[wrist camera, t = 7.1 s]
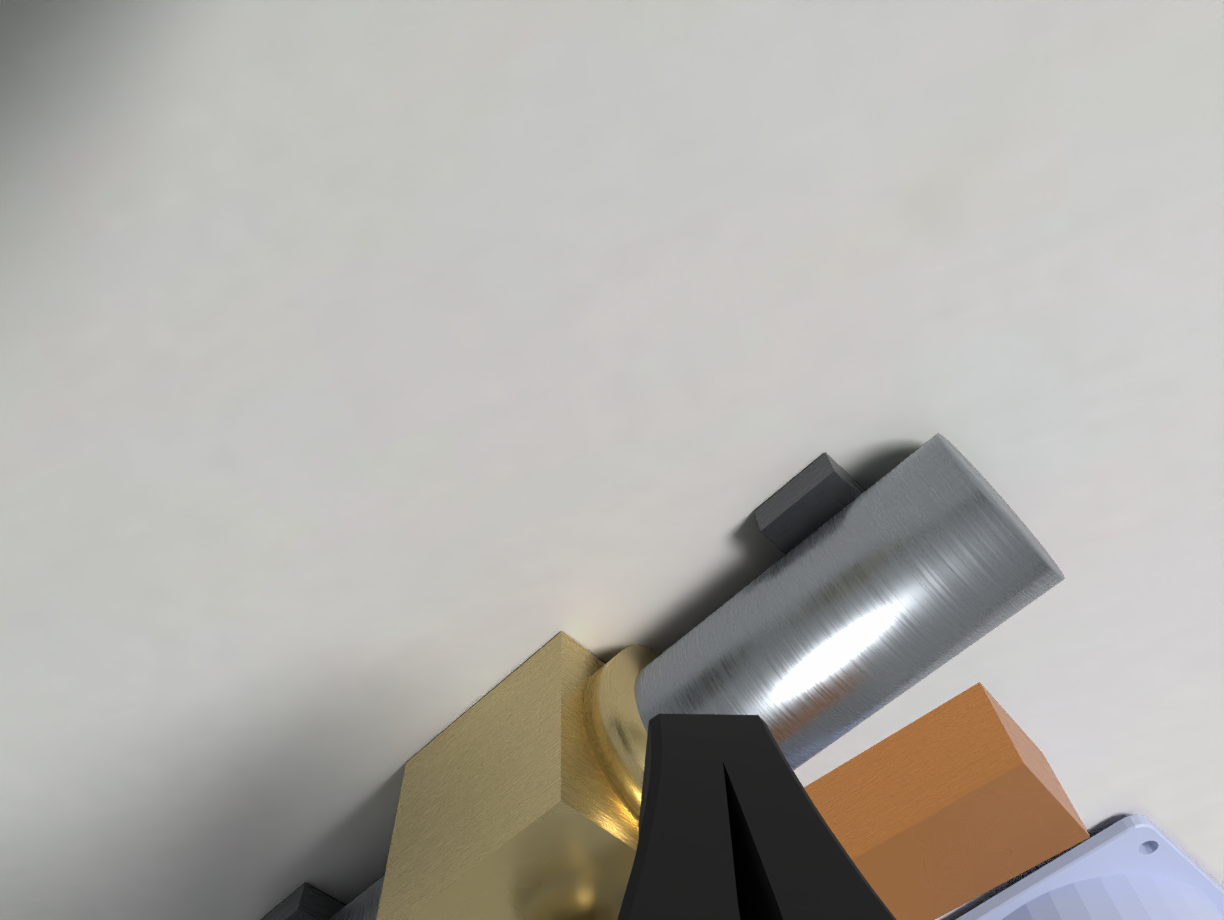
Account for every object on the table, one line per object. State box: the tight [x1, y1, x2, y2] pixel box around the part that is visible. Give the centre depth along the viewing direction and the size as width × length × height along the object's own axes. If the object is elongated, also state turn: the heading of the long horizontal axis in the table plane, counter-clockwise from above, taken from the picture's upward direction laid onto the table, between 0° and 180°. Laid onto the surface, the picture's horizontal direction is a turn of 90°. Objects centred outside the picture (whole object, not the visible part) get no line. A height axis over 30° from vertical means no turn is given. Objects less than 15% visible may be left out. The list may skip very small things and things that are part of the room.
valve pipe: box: [261, 433, 1065, 920], centre depth 23 cm, size 6×24×5 cm, turn 135°
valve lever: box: [804, 682, 1090, 920], centre depth 18 cm, size 11×3×2 cm, turn 130°
